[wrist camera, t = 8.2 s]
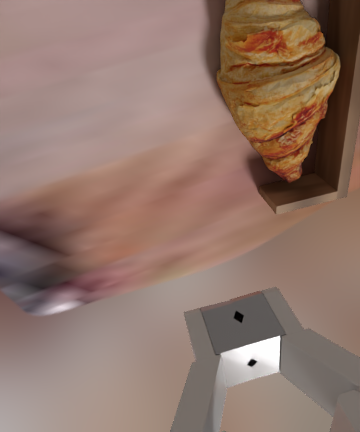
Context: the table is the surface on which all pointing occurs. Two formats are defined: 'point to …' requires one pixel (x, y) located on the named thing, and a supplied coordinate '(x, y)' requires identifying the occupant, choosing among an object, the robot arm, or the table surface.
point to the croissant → (276, 78)
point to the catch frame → (330, 122)
